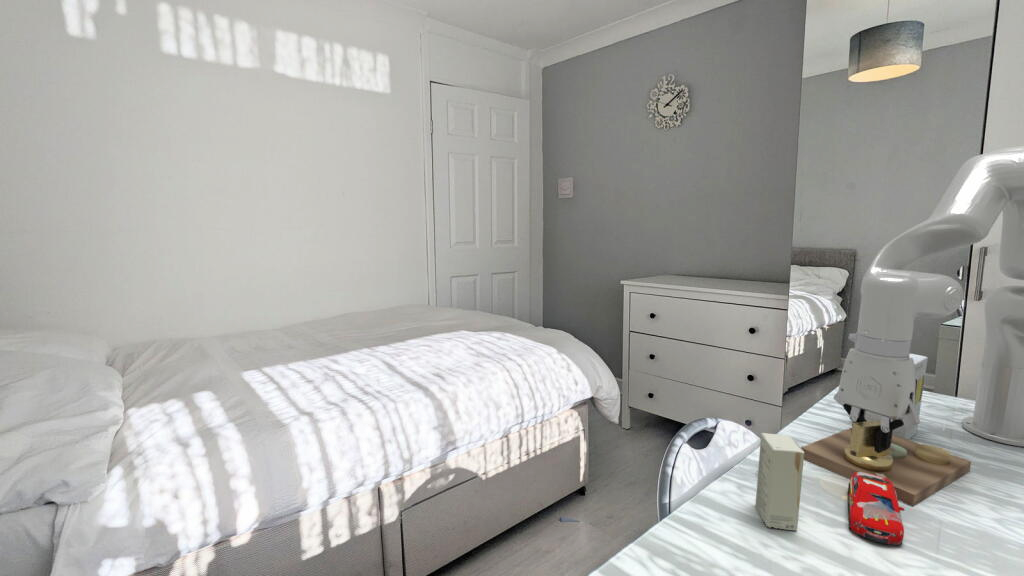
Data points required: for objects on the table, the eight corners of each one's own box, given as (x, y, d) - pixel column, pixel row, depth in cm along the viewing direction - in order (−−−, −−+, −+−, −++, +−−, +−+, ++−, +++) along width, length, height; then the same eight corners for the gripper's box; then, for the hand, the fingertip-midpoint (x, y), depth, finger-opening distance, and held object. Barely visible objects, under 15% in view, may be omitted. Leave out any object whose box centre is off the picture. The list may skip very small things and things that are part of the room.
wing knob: (866, 450, 92) (871, 414, 91) (902, 469, 86) (907, 430, 84) (834, 453, 91) (838, 416, 90) (868, 472, 84) (873, 433, 83)
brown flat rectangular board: (860, 432, 105) (862, 417, 104) (969, 471, 89) (972, 453, 89) (799, 457, 94) (801, 440, 93) (912, 506, 78) (915, 486, 78)
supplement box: (904, 444, 99) (916, 364, 97) (851, 429, 107) (861, 353, 104) (918, 432, 105) (929, 355, 103) (867, 417, 112) (876, 346, 110)
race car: (904, 556, 67) (909, 523, 67) (845, 538, 71) (849, 506, 70) (896, 500, 81) (900, 472, 80) (847, 486, 84) (850, 460, 84)
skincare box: (798, 532, 72) (806, 453, 70) (765, 528, 73) (773, 450, 71) (783, 506, 78) (791, 434, 76) (753, 503, 79) (760, 431, 77)
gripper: (821, 338, 90) (810, 432, 93) (930, 362, 76) (914, 472, 79) (843, 333, 94) (832, 424, 97) (951, 355, 80) (935, 461, 83)
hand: (869, 445), depth 88 cm, fingers closed on wing knob, 3 cm apart
